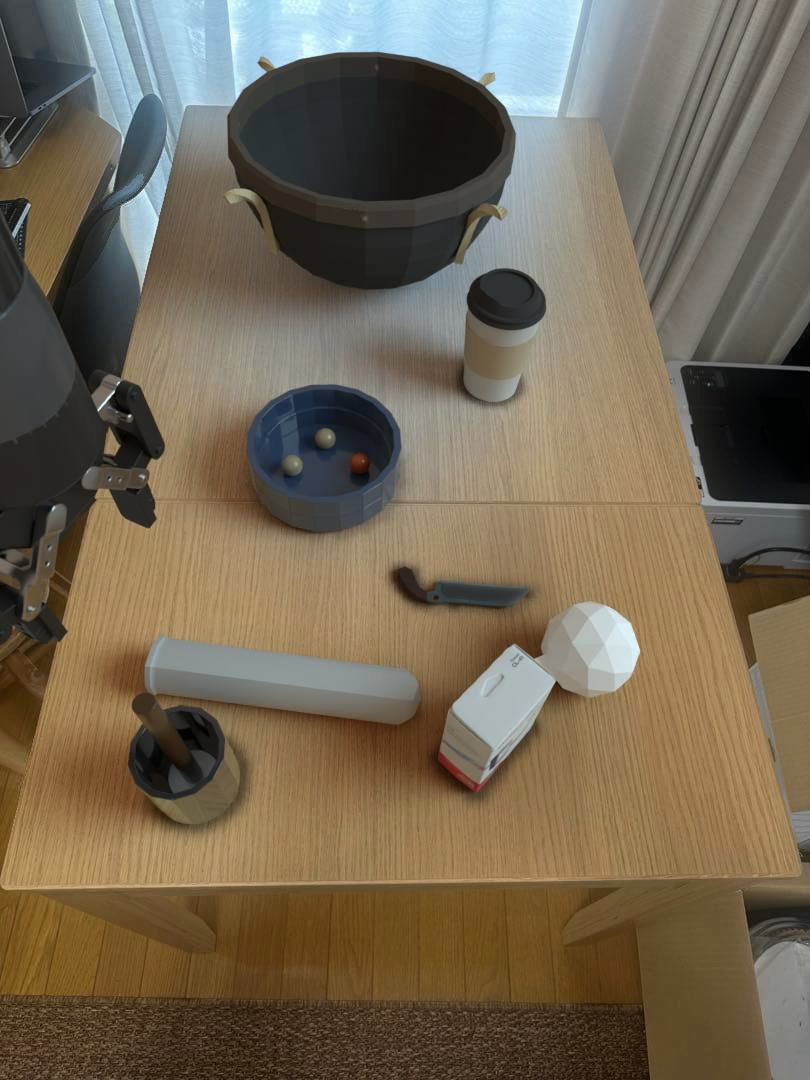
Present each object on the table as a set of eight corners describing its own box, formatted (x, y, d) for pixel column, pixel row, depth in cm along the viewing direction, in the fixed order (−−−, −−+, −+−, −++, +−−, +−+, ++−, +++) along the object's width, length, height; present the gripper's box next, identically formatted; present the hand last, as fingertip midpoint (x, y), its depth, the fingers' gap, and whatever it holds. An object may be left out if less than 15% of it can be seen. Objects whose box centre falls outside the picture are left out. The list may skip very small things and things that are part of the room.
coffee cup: (491, 347, 98) (511, 248, 85) (540, 387, 94) (567, 290, 82) (440, 376, 94) (452, 278, 82) (488, 419, 91) (509, 323, 78)
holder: (150, 828, 64) (122, 803, 56) (159, 741, 68) (134, 707, 60) (238, 822, 64) (221, 797, 57) (242, 736, 68) (227, 702, 61)
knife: (395, 601, 76) (395, 598, 76) (398, 568, 79) (398, 565, 78) (530, 613, 76) (531, 609, 76) (529, 579, 79) (531, 576, 78)
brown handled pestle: (168, 806, 64) (105, 737, 48) (173, 756, 66) (114, 673, 50) (220, 803, 64) (174, 733, 48) (223, 753, 67) (180, 670, 51)
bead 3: (349, 478, 84) (349, 465, 82) (348, 462, 85) (348, 448, 83) (370, 477, 84) (370, 464, 82) (369, 461, 86) (369, 448, 84)
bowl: (488, 196, 116) (510, 57, 99) (499, 356, 97) (528, 217, 80) (262, 183, 115) (244, 40, 98) (228, 342, 96) (199, 199, 79)
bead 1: (282, 480, 83) (280, 467, 81) (282, 463, 85) (280, 450, 83) (303, 479, 84) (302, 466, 82) (303, 463, 85) (302, 449, 83)
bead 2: (315, 453, 86) (314, 440, 84) (315, 437, 87) (314, 423, 85) (336, 452, 86) (335, 439, 84) (335, 437, 87) (335, 423, 85)
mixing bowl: (250, 537, 80) (243, 505, 75) (255, 421, 89) (249, 385, 84) (403, 531, 81) (406, 499, 76) (393, 418, 90) (395, 382, 85)
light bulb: (597, 596, 76) (491, 640, 74) (628, 580, 67) (508, 630, 65) (635, 675, 74) (527, 722, 73) (671, 670, 65) (550, 724, 64)
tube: (426, 658, 69) (161, 623, 69) (422, 703, 65) (140, 666, 65) (420, 695, 72) (167, 662, 73) (415, 740, 68) (147, 705, 68)
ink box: (474, 795, 66) (494, 757, 56) (432, 756, 68) (444, 712, 58) (533, 727, 70) (561, 679, 60) (492, 691, 72) (513, 640, 62)
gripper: (22, 252, 35) (118, 467, 48) (-238, 464, 28) (-39, 646, 41) (156, 302, 33) (216, 509, 47) (-80, 540, 26) (72, 702, 40)
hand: (97, 573), depth 44 cm, fingers open, 8 cm apart
